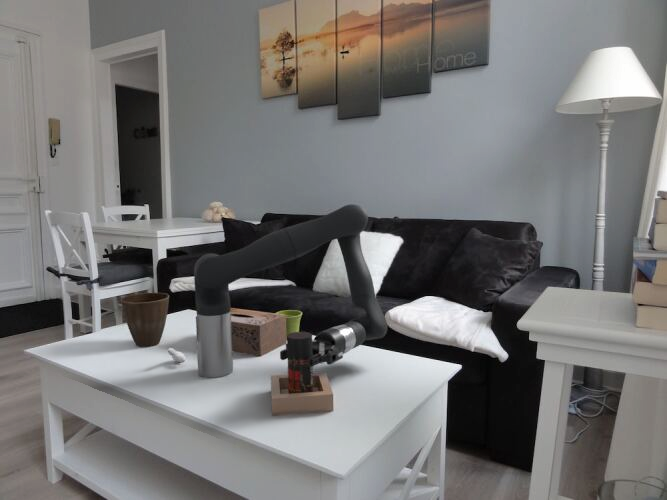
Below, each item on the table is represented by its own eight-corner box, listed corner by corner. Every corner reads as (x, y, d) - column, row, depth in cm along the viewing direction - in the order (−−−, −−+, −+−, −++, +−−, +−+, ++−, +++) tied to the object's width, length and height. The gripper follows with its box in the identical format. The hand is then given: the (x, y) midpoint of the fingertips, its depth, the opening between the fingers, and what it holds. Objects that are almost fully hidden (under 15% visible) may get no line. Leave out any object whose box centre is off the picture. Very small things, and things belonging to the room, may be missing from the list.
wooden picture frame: (272, 415, 111) (271, 398, 110) (271, 390, 124) (270, 375, 124) (333, 410, 113) (333, 394, 112) (325, 386, 126) (325, 371, 126)
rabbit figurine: (190, 359, 149) (188, 355, 141) (182, 370, 147) (180, 367, 140) (173, 348, 149) (170, 344, 141) (165, 360, 147) (162, 356, 140)
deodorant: (288, 391, 121) (287, 332, 119) (312, 390, 122) (311, 331, 120) (288, 401, 115) (286, 339, 114) (313, 400, 116) (312, 338, 114)
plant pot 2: (298, 342, 163) (298, 317, 162) (271, 341, 165) (271, 316, 164) (305, 334, 172) (305, 310, 171) (280, 333, 174) (279, 309, 173)
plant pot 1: (181, 341, 166) (178, 295, 164) (143, 354, 154) (140, 304, 152) (152, 335, 174) (150, 290, 172) (114, 346, 162) (111, 299, 160)
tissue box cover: (197, 346, 162) (195, 316, 161) (225, 334, 175) (224, 307, 173) (260, 357, 150) (259, 325, 149) (286, 344, 163) (285, 314, 162)
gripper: (313, 323, 132) (272, 338, 119) (357, 332, 124) (317, 349, 111) (314, 350, 133) (273, 368, 120) (357, 361, 125) (318, 381, 112)
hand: (294, 359), depth 116 cm, fingers open, 8 cm apart
